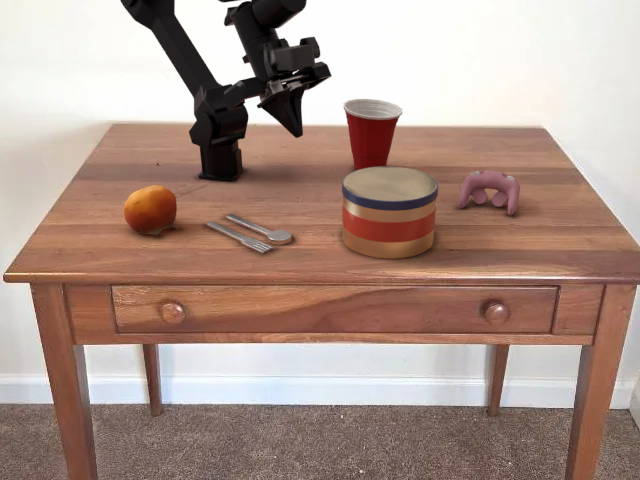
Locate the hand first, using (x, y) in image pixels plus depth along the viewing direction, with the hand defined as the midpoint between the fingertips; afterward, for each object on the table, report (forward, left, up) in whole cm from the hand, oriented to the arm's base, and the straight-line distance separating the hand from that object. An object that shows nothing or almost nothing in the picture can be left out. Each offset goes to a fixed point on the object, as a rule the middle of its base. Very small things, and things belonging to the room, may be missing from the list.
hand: (299, 136), depth 119 cm
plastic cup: (+8, +20, -12) cm, 24 cm away
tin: (+17, -9, -12) cm, 22 cm away
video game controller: (+31, +8, -12) cm, 34 cm away
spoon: (-4, -11, -12) cm, 17 cm away
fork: (-6, -15, -12) cm, 20 cm away
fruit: (-19, -15, -12) cm, 27 cm away
